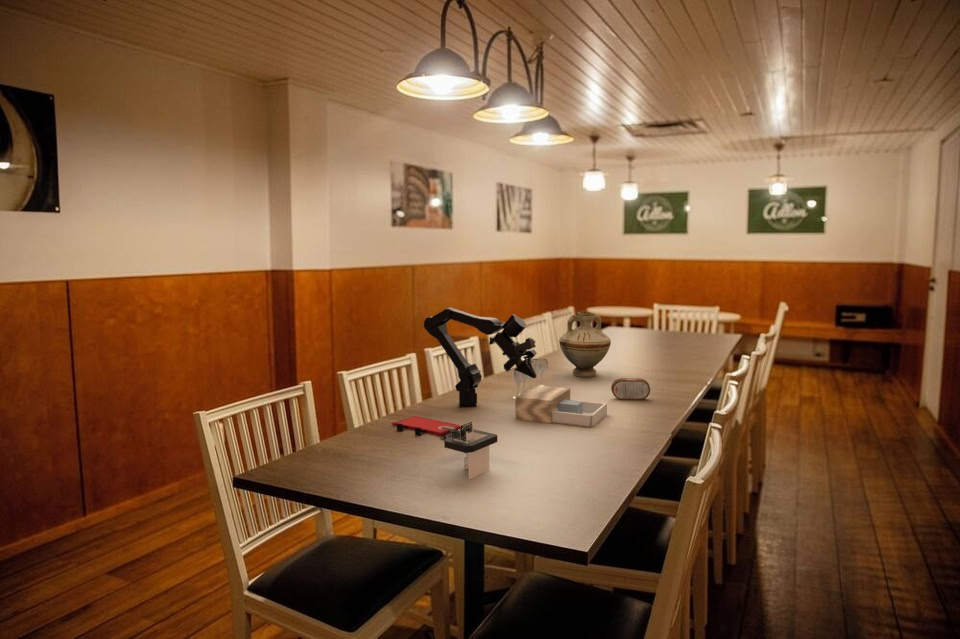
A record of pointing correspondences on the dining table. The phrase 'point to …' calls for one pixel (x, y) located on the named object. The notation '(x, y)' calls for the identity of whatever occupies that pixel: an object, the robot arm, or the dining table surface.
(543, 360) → the goblet set
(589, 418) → the tray
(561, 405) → the block
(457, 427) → the red board with handle
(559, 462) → the dining table surface
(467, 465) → the black-topped pedestal
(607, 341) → the amphora
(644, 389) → the tin
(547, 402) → the wood grain box
